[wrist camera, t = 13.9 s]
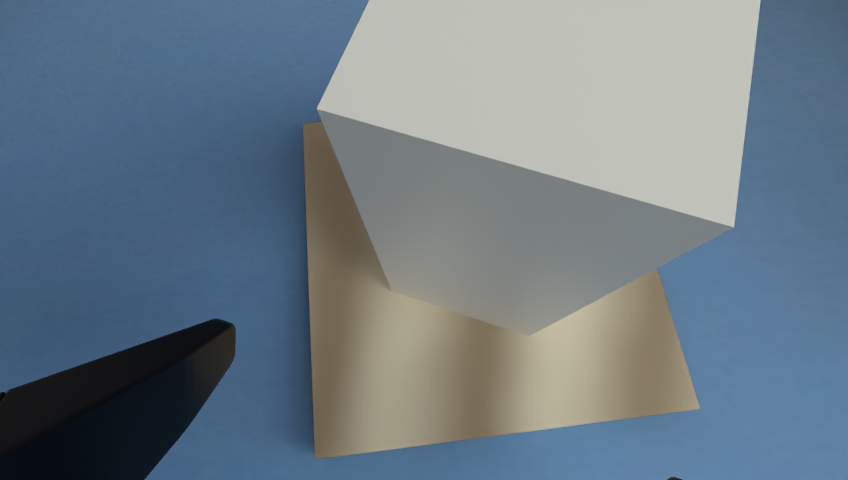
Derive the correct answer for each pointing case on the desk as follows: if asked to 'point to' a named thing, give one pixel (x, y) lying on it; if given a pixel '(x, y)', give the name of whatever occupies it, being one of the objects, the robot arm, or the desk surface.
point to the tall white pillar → (540, 144)
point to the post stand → (463, 347)
